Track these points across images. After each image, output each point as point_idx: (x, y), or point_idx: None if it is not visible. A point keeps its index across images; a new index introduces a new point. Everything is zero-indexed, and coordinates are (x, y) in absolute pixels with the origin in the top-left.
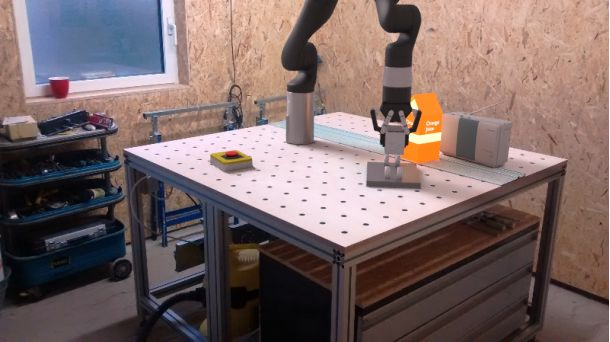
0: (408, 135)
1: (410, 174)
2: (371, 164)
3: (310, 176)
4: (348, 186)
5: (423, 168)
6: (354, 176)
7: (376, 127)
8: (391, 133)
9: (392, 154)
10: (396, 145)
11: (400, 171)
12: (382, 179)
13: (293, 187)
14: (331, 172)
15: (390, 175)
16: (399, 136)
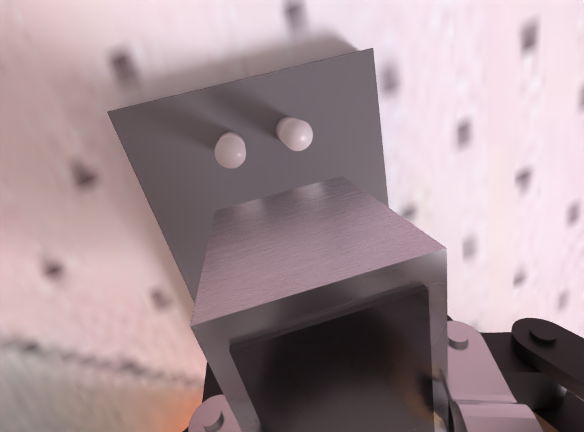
0: (208, 398)
1: (201, 225)
2: None
3: (577, 105)
4: (434, 21)
5: (197, 358)
6: (420, 171)
7: (556, 351)
8: (367, 262)
9: (292, 190)
10: (277, 222)
11: (223, 137)
12: (303, 99)
13: None
14: (502, 184)
15: (281, 175)
16: (262, 272)
